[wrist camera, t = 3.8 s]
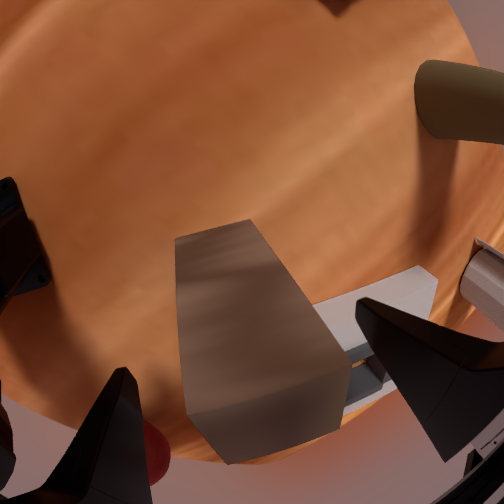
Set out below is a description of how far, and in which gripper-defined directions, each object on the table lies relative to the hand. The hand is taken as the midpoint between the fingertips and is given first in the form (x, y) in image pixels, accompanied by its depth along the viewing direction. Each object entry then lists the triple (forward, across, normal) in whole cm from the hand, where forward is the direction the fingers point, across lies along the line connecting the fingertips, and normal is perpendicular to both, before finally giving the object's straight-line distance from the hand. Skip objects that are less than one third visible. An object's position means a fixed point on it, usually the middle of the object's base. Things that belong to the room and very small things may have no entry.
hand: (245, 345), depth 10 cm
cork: (+7, -17, -8) cm, 20 cm away
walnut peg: (+6, 0, 0) cm, 7 cm away
